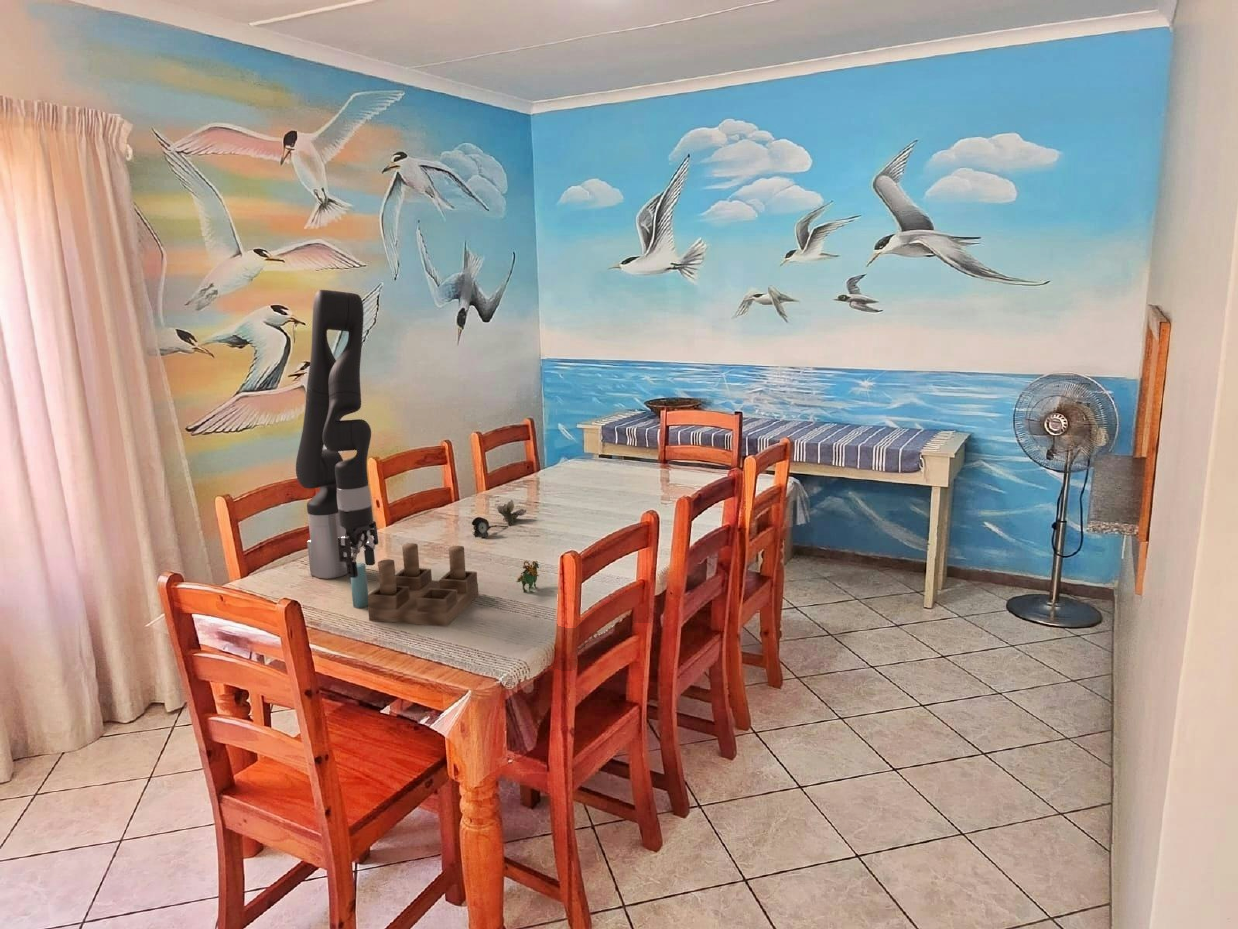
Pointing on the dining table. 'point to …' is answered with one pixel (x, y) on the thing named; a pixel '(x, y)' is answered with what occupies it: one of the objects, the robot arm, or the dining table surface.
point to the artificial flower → (483, 525)
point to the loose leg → (360, 587)
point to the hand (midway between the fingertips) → (361, 570)
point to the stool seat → (422, 590)
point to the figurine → (529, 575)
